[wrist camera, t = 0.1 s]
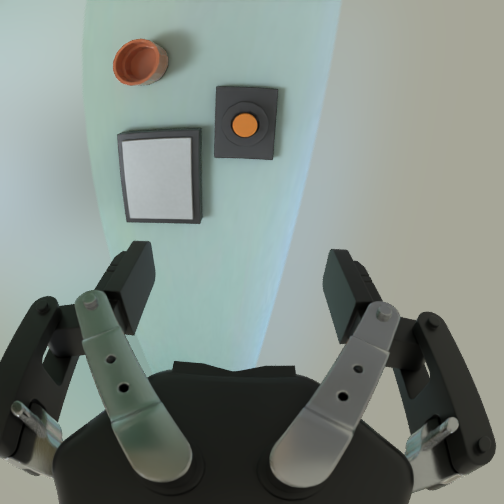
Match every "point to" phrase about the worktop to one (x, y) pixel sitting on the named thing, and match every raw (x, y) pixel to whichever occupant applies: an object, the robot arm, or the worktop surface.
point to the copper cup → (140, 62)
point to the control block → (251, 102)
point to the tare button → (245, 125)
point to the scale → (161, 175)
